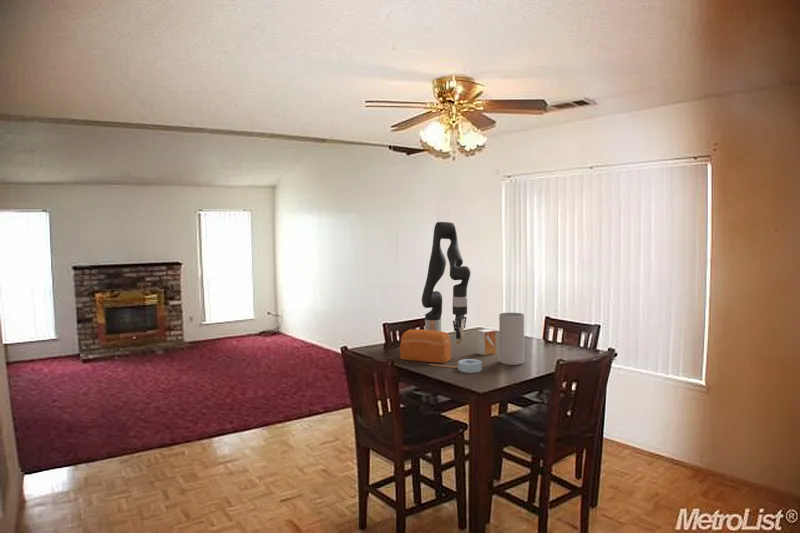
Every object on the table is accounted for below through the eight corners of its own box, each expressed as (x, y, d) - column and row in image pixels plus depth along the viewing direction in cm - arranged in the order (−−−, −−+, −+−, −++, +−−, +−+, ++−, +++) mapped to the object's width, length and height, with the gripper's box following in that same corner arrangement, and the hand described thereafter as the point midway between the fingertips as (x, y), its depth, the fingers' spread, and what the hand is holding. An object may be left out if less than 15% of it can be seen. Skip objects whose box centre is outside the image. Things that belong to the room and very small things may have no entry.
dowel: (455, 343, 282) (455, 320, 281) (457, 341, 285) (457, 319, 284) (461, 344, 281) (461, 321, 280) (464, 342, 284) (464, 319, 283)
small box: (484, 355, 298) (484, 332, 297) (477, 353, 304) (477, 330, 303) (495, 353, 303) (495, 330, 302) (488, 351, 308) (487, 328, 307)
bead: (455, 371, 267) (455, 363, 267) (463, 365, 277) (463, 358, 277) (477, 373, 263) (476, 365, 262) (484, 368, 272) (484, 360, 272)
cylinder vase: (527, 365, 277) (527, 316, 275) (503, 365, 276) (502, 316, 274) (520, 359, 289) (520, 312, 288) (496, 359, 288) (496, 312, 287)
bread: (444, 364, 281) (443, 334, 280) (398, 360, 292) (397, 330, 291) (453, 358, 294) (452, 329, 293) (408, 354, 305) (407, 326, 304)
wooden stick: (428, 365, 279) (428, 363, 279) (429, 365, 280) (429, 363, 280) (459, 368, 272) (459, 367, 272) (460, 368, 272) (460, 366, 272)
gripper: (457, 302, 289) (457, 334, 291) (447, 306, 277) (447, 340, 278) (471, 303, 286) (471, 335, 287) (461, 307, 273) (461, 341, 275)
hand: (459, 337), depth 283 cm, fingers closed on dowel, 3 cm apart
